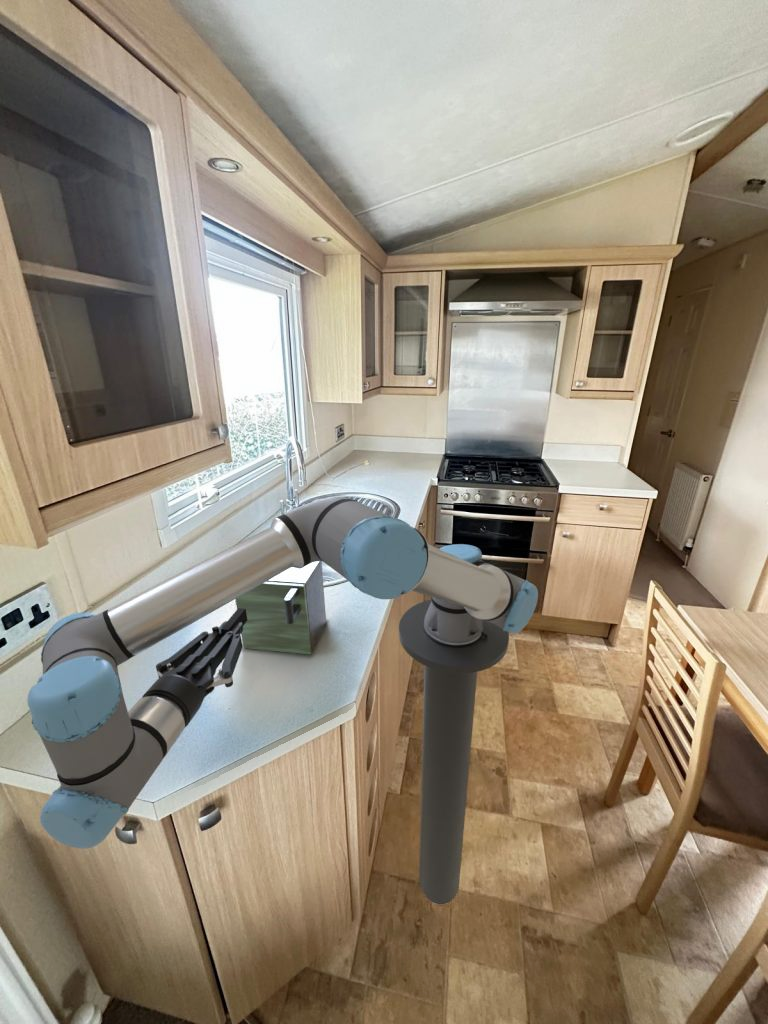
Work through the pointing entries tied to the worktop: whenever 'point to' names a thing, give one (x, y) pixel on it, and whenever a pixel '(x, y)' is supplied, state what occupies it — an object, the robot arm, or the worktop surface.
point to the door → (276, 618)
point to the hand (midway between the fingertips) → (242, 614)
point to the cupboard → (309, 594)
